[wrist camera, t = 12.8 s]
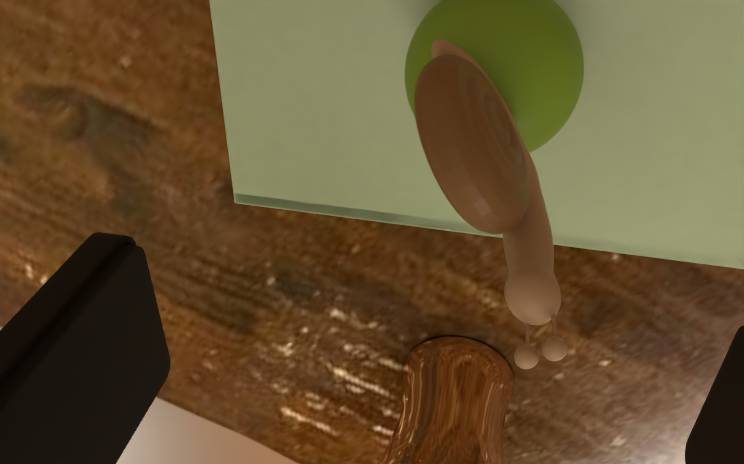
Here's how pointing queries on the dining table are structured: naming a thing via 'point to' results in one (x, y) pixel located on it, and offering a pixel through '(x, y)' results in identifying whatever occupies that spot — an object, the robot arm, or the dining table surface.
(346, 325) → the dining table surface
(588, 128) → the book
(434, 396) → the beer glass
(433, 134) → the snail figurine
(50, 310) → the robot arm
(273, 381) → the dining table surface
